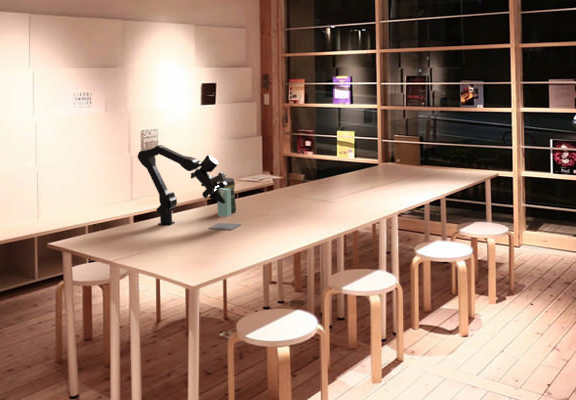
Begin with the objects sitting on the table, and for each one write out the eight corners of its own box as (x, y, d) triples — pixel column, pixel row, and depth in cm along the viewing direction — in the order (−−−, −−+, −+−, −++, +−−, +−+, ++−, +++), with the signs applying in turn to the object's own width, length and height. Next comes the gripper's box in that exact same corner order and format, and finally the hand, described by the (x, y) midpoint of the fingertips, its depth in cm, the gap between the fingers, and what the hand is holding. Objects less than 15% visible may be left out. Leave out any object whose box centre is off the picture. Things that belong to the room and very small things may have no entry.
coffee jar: (227, 210, 384) (226, 176, 381) (238, 211, 380) (237, 177, 376) (215, 213, 377) (214, 179, 373) (226, 214, 372) (225, 180, 369)
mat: (231, 230, 336) (231, 229, 336) (208, 228, 340) (208, 228, 340) (241, 224, 347) (241, 224, 347) (218, 223, 351) (218, 222, 351)
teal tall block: (217, 216, 341) (217, 189, 339) (222, 214, 346) (221, 188, 343) (227, 216, 339) (226, 190, 337) (231, 214, 344) (230, 188, 342)
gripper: (207, 170, 331) (229, 194, 329) (223, 164, 348) (244, 187, 347) (192, 186, 335) (215, 209, 333) (209, 180, 352) (230, 202, 351)
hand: (226, 201), depth 341 cm, fingers closed on teal tall block, 5 cm apart
